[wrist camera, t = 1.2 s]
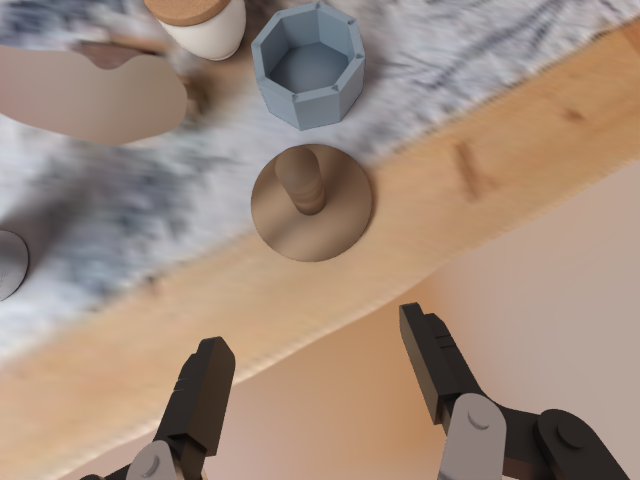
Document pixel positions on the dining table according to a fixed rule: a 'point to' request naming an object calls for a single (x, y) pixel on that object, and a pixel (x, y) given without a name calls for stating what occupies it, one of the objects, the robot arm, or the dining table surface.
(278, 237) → the walnut lid
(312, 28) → the ceramic bowl
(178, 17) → the lidded jar
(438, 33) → the dining table surface
